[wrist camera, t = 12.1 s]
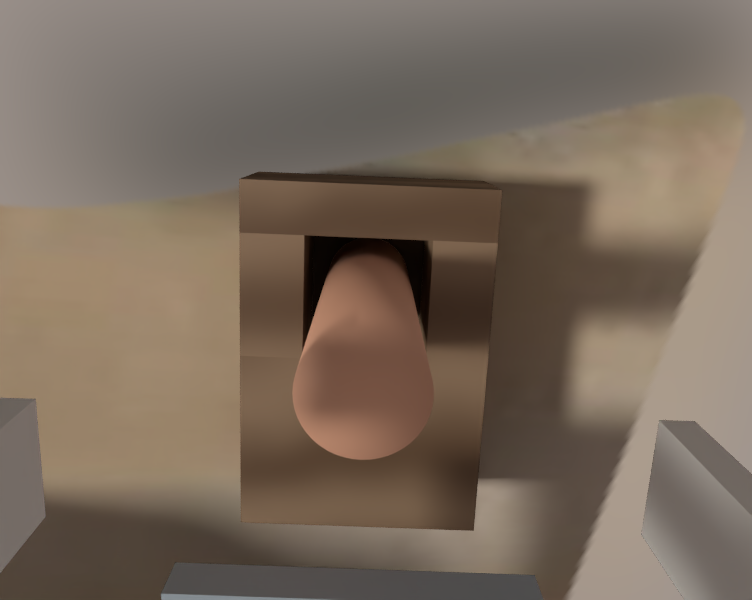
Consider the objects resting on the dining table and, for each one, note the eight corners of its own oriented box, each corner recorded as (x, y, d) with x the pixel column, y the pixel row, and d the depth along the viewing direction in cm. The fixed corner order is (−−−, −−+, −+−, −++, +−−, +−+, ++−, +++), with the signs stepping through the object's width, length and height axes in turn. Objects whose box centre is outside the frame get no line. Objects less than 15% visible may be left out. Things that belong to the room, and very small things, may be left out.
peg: (329, 235, 35) (293, 324, 19) (409, 239, 35) (437, 329, 19) (327, 313, 36) (291, 457, 20) (405, 316, 36) (429, 462, 20)
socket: (258, 171, 34) (239, 179, 29) (484, 181, 34) (502, 190, 29) (257, 471, 38) (240, 522, 33) (460, 479, 38) (473, 530, 33)
